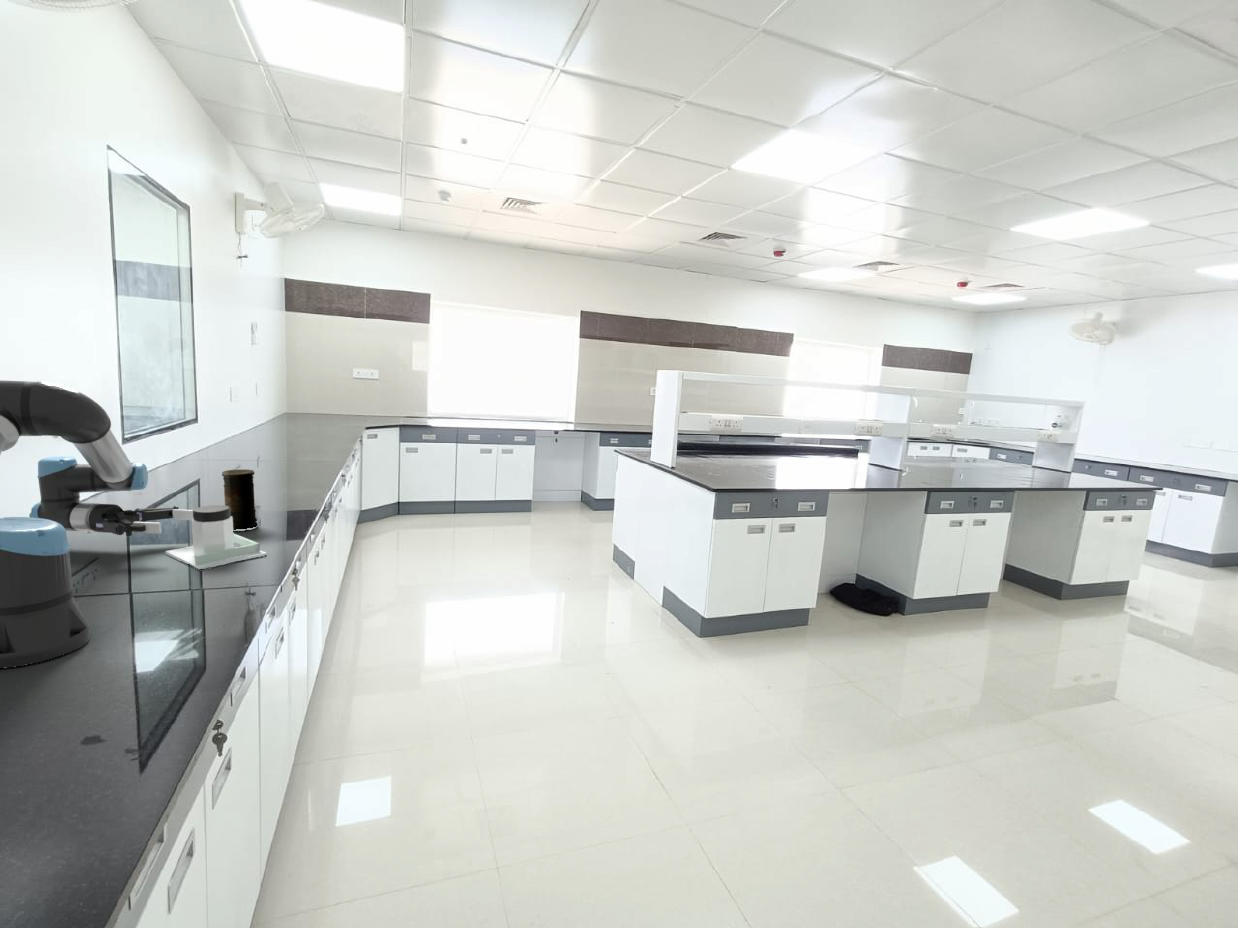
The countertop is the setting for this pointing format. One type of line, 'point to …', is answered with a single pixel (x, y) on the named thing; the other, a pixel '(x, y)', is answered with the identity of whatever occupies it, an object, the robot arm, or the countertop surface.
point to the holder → (216, 553)
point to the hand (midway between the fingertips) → (179, 521)
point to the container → (240, 497)
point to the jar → (212, 529)
